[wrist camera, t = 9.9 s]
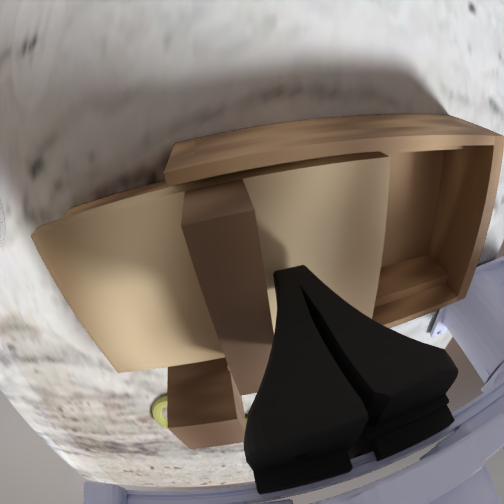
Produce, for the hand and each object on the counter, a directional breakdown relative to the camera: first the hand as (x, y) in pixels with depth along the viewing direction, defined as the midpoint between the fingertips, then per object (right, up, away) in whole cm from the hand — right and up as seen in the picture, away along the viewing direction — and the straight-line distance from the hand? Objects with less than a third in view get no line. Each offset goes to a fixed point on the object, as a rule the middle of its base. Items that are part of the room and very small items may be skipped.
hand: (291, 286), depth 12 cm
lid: (-3, 0, +1) cm, 3 cm away
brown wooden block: (-5, -6, +9) cm, 12 cm away
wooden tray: (0, +3, +4) cm, 5 cm away
